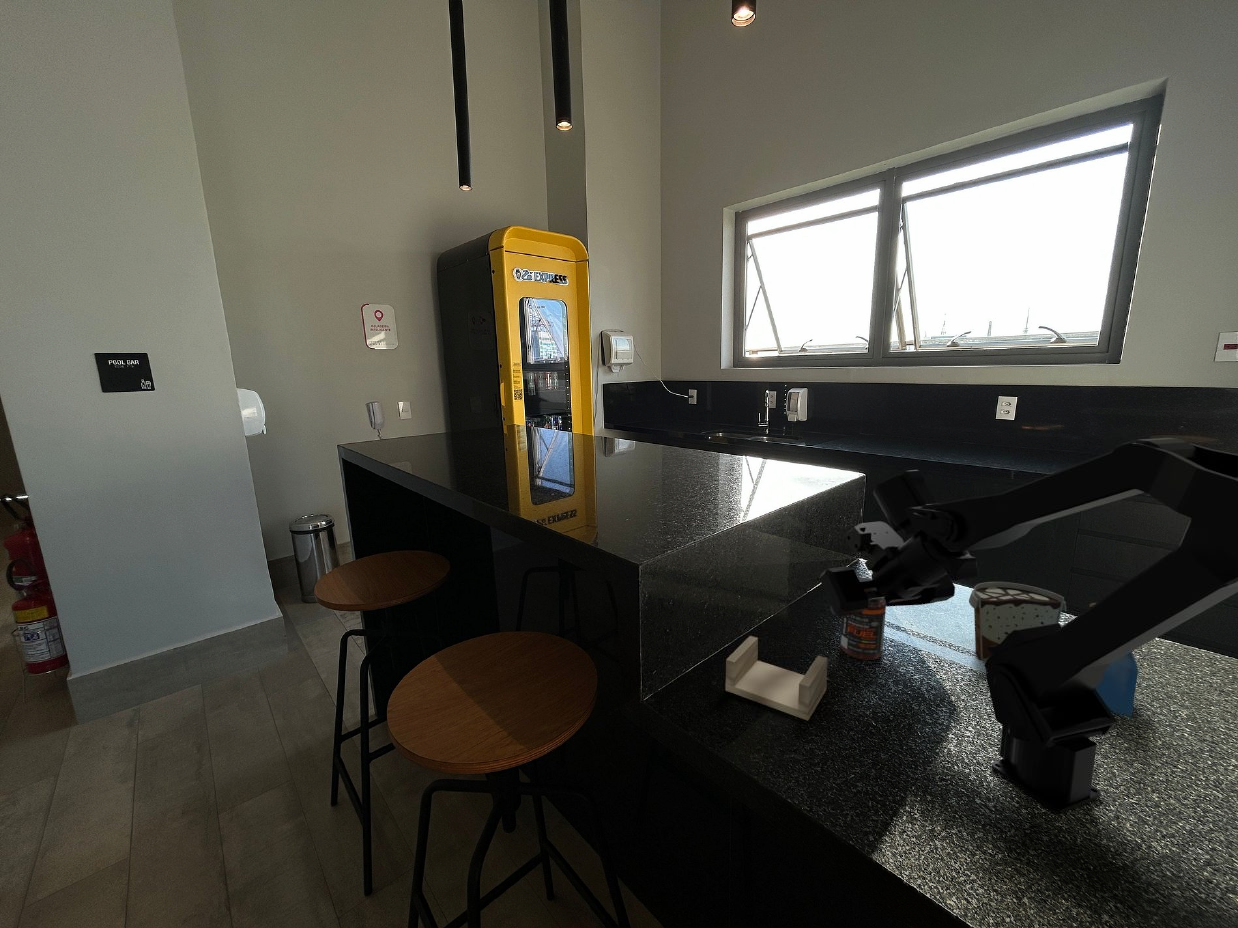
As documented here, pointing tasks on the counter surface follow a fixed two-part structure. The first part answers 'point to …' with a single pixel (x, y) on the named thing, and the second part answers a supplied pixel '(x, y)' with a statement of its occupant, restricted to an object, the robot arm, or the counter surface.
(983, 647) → the food container
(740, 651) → the cradle
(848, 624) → the supplement bottle
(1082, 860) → the counter surface
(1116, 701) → the perfume bottle
